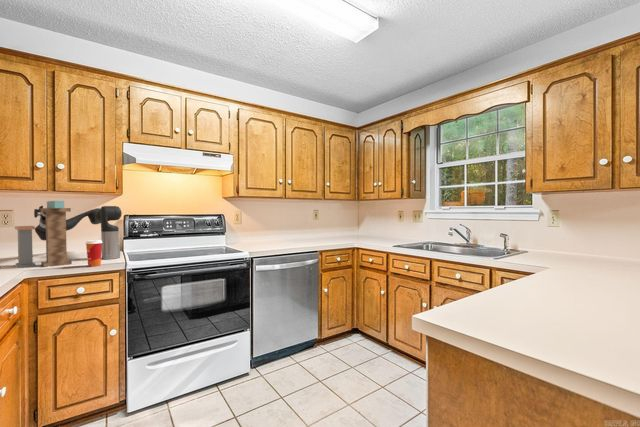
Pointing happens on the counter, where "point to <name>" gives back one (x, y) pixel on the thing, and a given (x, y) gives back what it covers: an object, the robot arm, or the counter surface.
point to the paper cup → (94, 252)
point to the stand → (56, 236)
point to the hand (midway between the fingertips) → (51, 206)
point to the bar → (55, 204)
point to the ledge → (25, 246)
